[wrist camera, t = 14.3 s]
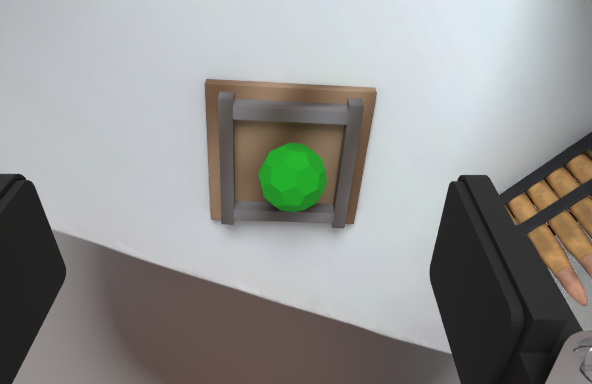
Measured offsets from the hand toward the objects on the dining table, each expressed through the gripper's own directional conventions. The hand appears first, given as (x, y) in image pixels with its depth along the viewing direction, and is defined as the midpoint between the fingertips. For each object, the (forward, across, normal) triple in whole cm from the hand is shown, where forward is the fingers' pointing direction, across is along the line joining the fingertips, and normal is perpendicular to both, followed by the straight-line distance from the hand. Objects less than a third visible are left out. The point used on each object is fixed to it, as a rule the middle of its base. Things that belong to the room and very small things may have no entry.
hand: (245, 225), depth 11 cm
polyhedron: (+23, -1, +13) cm, 27 cm away
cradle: (+24, 0, +13) cm, 27 cm away
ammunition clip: (+25, -21, +16) cm, 36 cm away
